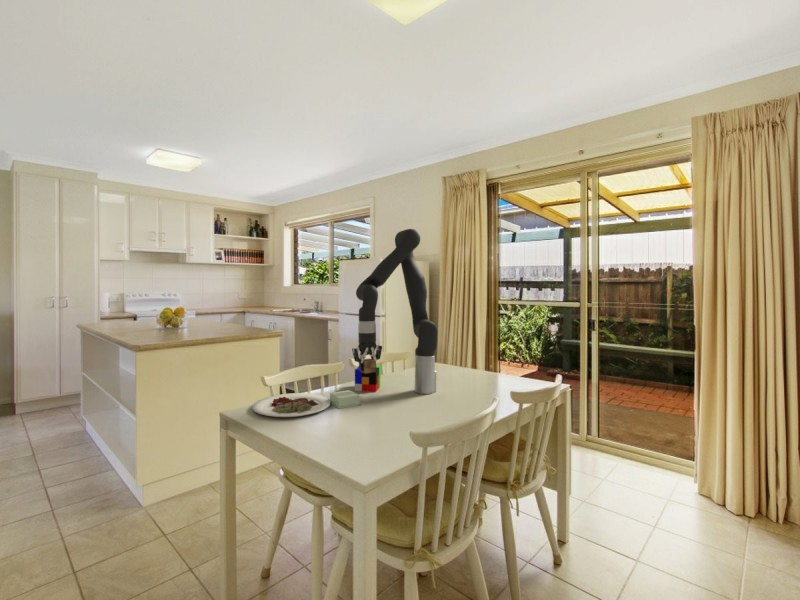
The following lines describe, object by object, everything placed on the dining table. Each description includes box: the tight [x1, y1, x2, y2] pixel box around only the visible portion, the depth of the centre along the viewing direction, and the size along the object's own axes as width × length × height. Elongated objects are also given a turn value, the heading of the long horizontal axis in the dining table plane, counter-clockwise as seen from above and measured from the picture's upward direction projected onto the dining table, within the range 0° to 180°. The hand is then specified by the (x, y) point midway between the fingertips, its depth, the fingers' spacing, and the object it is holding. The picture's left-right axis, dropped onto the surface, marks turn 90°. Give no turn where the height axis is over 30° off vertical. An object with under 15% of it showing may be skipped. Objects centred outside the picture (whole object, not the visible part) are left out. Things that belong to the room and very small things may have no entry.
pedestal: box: [329, 389, 362, 410], centre depth 169 cm, size 10×10×4 cm
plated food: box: [252, 392, 331, 418], centre depth 163 cm, size 30×30×3 cm
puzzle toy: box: [354, 365, 382, 393], centre depth 193 cm, size 10×10×10 cm
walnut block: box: [360, 358, 377, 374], centre depth 175 cm, size 5×5×5 cm
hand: (367, 370), depth 175 cm, fingers closed on walnut block, 5 cm apart
